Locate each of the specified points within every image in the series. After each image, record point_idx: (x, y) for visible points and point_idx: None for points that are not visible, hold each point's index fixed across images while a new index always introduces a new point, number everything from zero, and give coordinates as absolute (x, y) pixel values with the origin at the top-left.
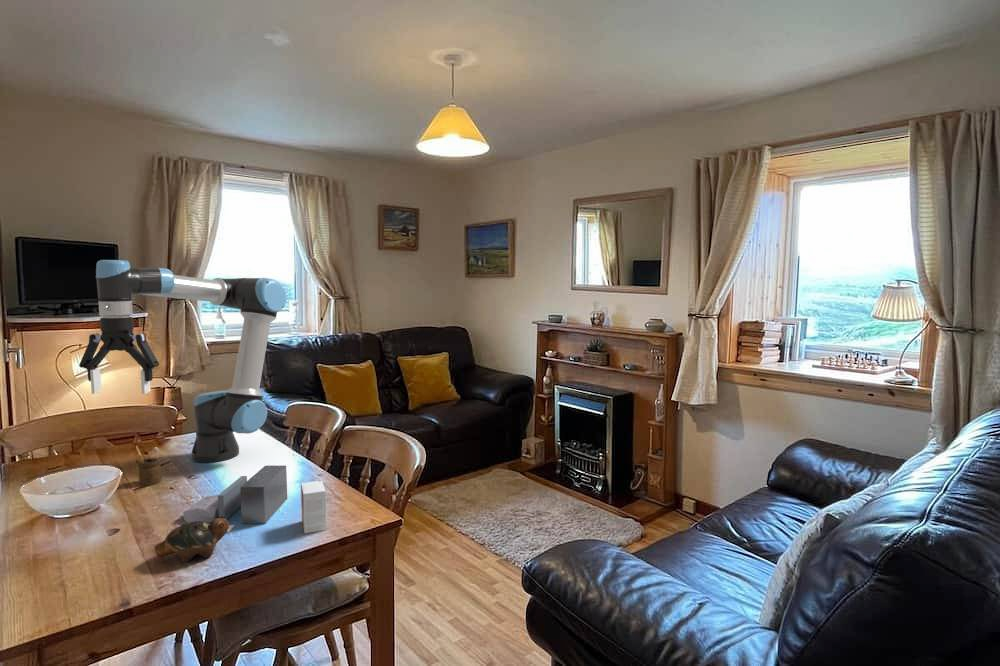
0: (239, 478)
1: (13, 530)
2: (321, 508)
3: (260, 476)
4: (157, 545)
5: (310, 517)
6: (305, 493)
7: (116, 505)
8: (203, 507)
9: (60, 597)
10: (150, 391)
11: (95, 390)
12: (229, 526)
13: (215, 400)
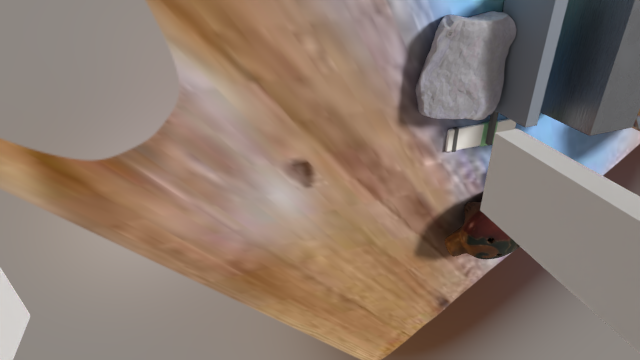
0: (555, 11)
1: (66, 211)
2: None
3: (628, 65)
4: (455, 254)
5: None
6: None
7: (190, 47)
8: (474, 116)
9: (366, 315)
10: (519, 132)
11: (13, 330)
12: (509, 124)
13: None
